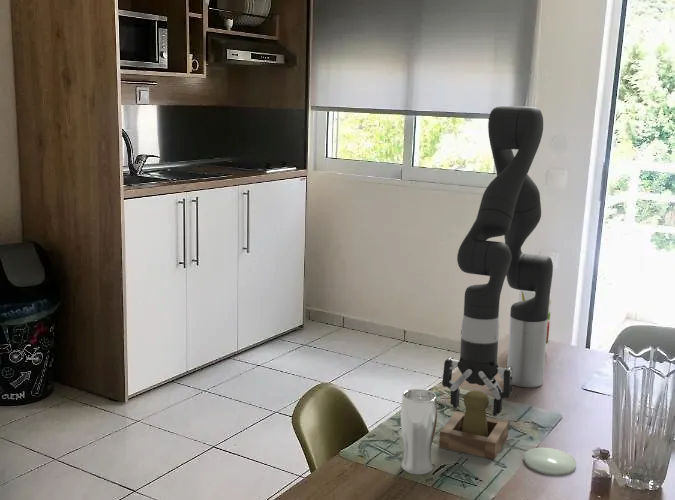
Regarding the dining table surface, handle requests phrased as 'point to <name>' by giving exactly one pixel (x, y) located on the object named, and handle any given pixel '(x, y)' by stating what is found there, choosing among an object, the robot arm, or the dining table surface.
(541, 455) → the coaster
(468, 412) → the olive pawn
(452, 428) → the frame
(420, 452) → the beer glass
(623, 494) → the dining table surface
